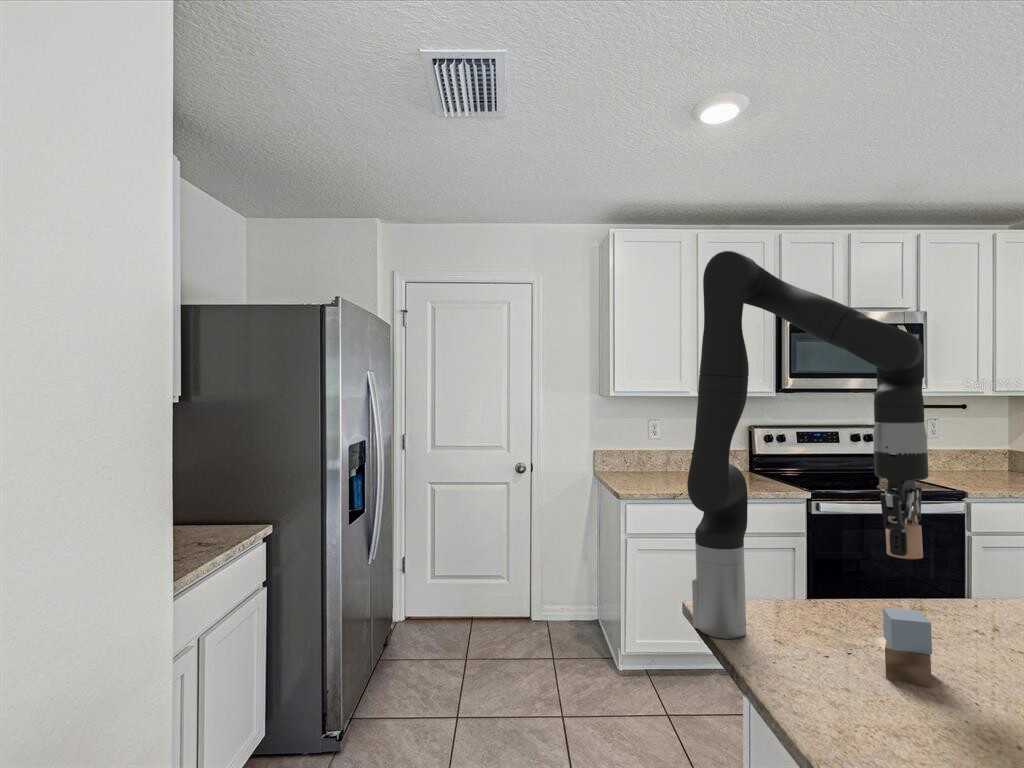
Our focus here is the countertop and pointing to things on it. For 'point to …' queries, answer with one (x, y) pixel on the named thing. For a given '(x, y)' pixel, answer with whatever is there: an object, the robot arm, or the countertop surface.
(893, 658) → the tower base
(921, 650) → the tower top
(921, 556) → the tan rounded cylinder
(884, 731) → the countertop surface
